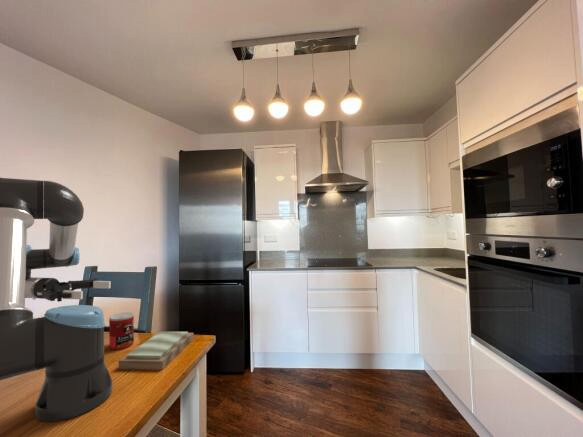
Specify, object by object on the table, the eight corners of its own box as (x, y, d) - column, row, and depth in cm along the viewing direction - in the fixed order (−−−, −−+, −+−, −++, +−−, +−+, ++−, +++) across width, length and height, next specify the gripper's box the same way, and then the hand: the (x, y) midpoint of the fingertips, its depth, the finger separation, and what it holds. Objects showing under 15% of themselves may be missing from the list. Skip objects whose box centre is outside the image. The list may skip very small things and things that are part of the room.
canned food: (117, 352, 95) (116, 320, 96) (104, 347, 99) (104, 317, 100) (138, 343, 102) (138, 313, 102) (126, 339, 106) (126, 311, 106)
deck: (162, 369, 83) (162, 358, 83) (118, 369, 84) (118, 357, 84) (193, 339, 105) (193, 330, 105) (158, 339, 106) (158, 330, 106)
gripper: (70, 288, 114) (119, 290, 114) (5, 309, 90) (67, 311, 89) (70, 270, 114) (119, 272, 113) (5, 287, 89) (67, 288, 88)
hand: (96, 289), depth 101 cm, fingers open, 13 cm apart
